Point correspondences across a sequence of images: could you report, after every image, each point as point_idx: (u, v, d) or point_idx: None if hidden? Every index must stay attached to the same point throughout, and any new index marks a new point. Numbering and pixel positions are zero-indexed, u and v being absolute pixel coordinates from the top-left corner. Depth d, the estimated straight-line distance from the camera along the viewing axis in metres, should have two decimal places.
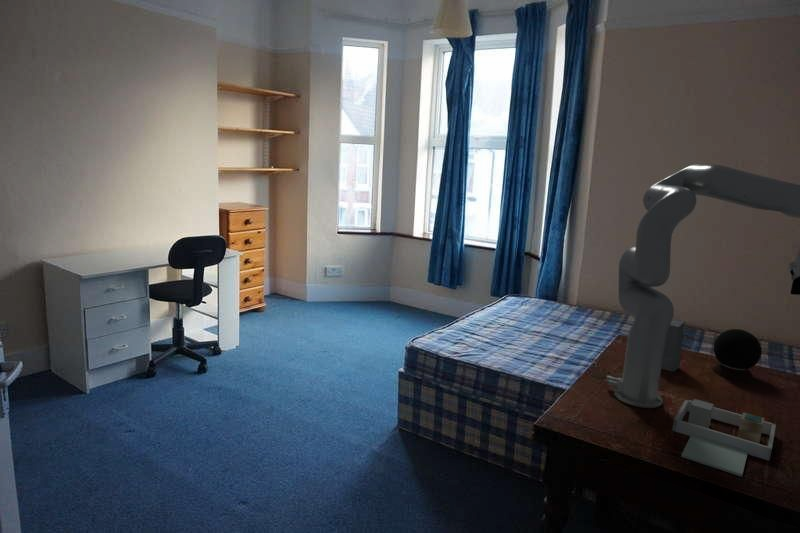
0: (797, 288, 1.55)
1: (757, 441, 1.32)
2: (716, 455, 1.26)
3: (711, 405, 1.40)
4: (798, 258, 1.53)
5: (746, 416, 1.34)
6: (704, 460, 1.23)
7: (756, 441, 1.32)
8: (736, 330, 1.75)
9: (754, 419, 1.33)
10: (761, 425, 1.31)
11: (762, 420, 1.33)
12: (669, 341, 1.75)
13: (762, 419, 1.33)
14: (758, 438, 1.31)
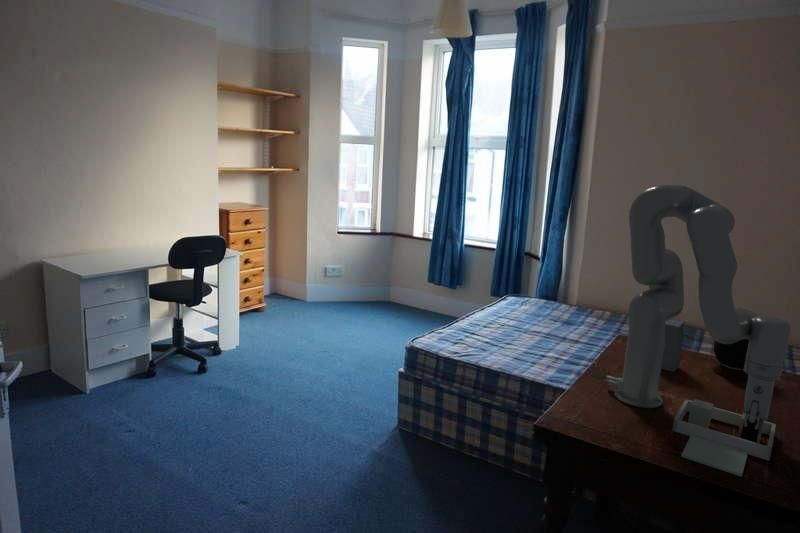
0: None
1: (757, 441, 1.32)
2: (716, 455, 1.26)
3: (711, 405, 1.40)
4: (770, 401, 1.28)
5: None
6: (704, 460, 1.23)
7: (756, 441, 1.32)
8: None
9: None
10: (761, 425, 1.31)
11: (762, 420, 1.33)
12: (669, 341, 1.75)
13: (762, 419, 1.33)
14: (758, 438, 1.31)
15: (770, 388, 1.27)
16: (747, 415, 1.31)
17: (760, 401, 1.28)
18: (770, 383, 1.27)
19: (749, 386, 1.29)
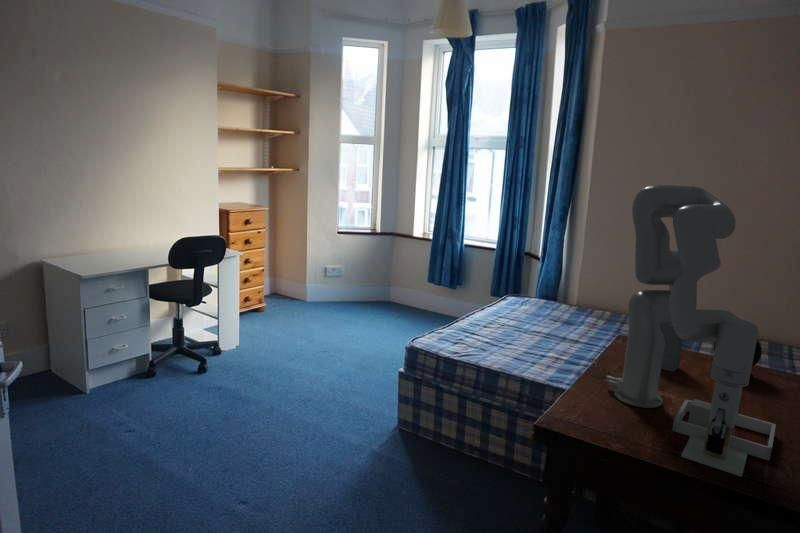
0: None
1: (724, 454, 1.24)
2: None
3: None
4: (736, 409, 1.20)
5: None
6: (704, 460, 1.23)
7: (723, 454, 1.24)
8: None
9: None
10: (728, 437, 1.23)
11: (729, 431, 1.25)
12: (669, 341, 1.75)
13: (730, 430, 1.25)
14: (725, 451, 1.24)
15: (736, 395, 1.19)
16: (713, 422, 1.22)
17: (726, 409, 1.20)
18: (736, 390, 1.19)
19: (715, 393, 1.21)
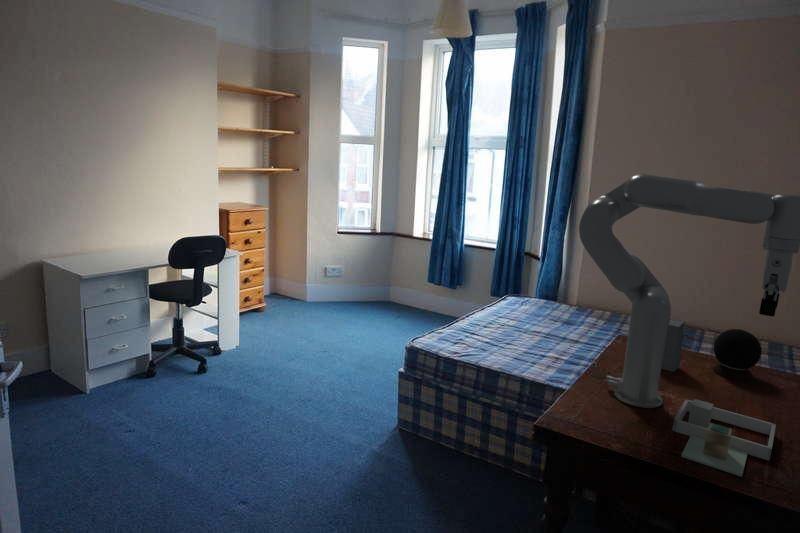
0: None
1: (724, 454, 1.24)
2: None
3: (711, 405, 1.40)
4: (788, 274, 1.32)
5: (713, 427, 1.26)
6: (704, 460, 1.23)
7: (723, 454, 1.24)
8: (736, 330, 1.75)
9: (721, 430, 1.25)
10: (728, 437, 1.23)
11: (729, 431, 1.25)
12: (669, 341, 1.75)
13: (730, 430, 1.25)
14: (725, 451, 1.24)
15: (788, 260, 1.31)
16: (766, 288, 1.35)
17: (779, 274, 1.32)
18: (788, 255, 1.31)
19: (768, 260, 1.34)
